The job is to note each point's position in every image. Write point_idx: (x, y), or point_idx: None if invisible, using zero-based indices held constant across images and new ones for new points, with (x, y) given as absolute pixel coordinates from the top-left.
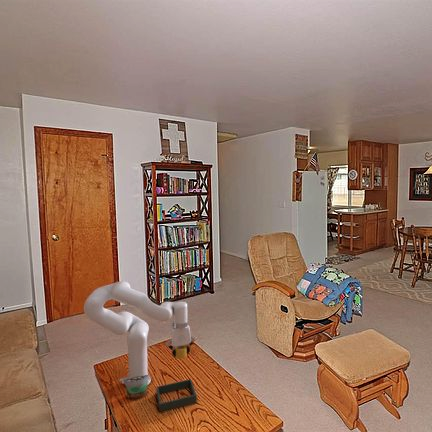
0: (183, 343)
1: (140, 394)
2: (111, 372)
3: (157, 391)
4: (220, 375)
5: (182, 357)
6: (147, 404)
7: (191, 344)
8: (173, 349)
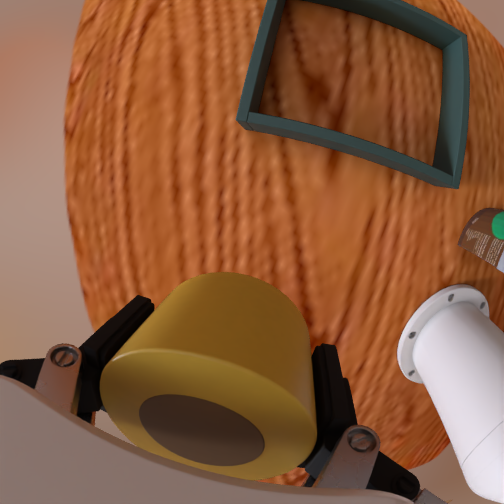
0: (98, 476)
1: (501, 210)
2: (444, 428)
3: (466, 136)
4: (81, 149)
5: (236, 278)
6: (481, 136)
7: (28, 363)
8: (354, 441)
